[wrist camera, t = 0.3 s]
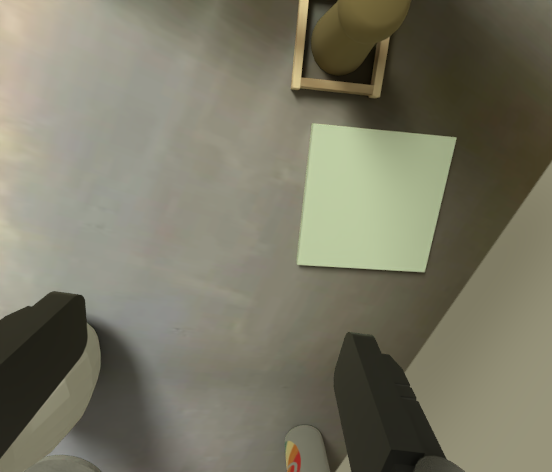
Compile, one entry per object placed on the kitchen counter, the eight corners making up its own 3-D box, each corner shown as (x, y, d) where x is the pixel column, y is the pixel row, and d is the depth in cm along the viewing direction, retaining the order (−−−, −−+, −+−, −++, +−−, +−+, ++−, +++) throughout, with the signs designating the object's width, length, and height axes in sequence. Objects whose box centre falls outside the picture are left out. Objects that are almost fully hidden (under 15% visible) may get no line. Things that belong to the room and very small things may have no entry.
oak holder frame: (300, -19, 30) (302, -26, 28) (392, -7, 30) (398, -13, 29) (290, 89, 32) (292, 87, 31) (375, 98, 33) (379, 96, 32)
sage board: (311, 124, 33) (313, 123, 32) (451, 137, 35) (456, 137, 34) (296, 261, 38) (297, 264, 37) (420, 269, 39) (424, 272, 38)
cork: (381, 39, 31) (444, -15, 21) (341, 88, 33) (382, 61, 22) (338, -7, 30) (382, -88, 20) (298, 47, 31) (320, -4, 21)
